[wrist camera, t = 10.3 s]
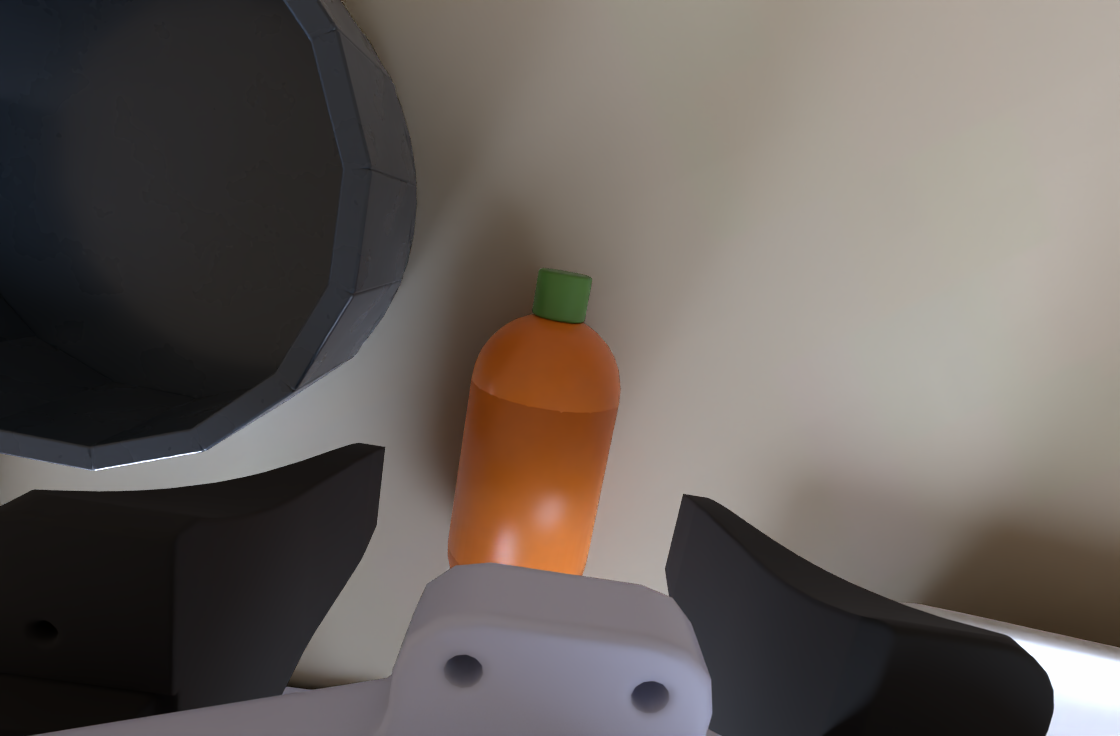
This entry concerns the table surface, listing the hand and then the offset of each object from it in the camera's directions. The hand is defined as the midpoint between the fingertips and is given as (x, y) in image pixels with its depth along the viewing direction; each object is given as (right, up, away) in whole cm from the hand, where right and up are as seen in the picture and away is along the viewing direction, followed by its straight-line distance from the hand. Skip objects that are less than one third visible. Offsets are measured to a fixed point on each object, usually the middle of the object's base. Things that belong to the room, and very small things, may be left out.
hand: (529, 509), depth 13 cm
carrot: (0, +1, +4) cm, 5 cm away
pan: (-10, +9, +2) cm, 13 cm away
